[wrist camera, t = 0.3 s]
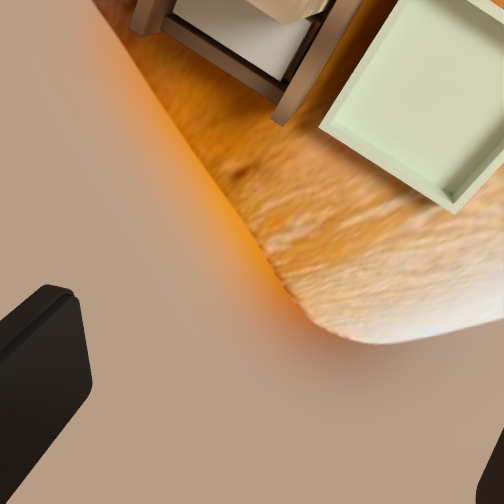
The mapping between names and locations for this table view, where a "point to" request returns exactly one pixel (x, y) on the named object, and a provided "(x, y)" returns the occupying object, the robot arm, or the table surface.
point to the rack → (279, 92)
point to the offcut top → (249, 32)
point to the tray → (429, 98)
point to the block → (292, 8)
